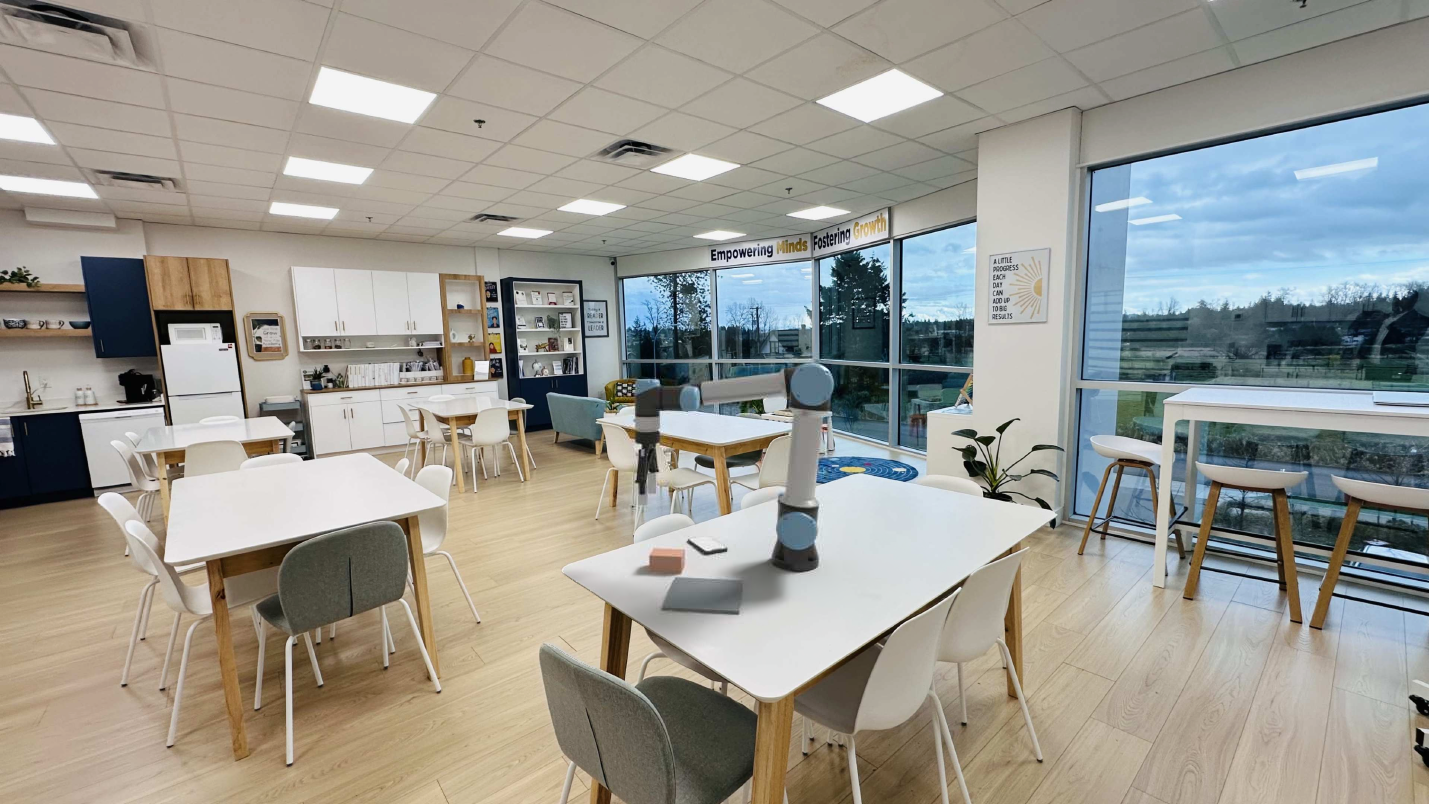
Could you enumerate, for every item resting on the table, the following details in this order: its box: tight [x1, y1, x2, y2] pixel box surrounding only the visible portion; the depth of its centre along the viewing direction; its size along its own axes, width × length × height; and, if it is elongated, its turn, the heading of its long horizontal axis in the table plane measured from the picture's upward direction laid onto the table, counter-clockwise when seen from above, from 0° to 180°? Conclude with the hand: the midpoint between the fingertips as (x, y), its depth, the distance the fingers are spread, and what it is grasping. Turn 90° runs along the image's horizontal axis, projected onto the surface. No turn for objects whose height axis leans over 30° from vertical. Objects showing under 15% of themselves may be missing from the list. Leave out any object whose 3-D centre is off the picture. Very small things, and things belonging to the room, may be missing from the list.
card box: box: [648, 547, 686, 575], centre depth 174 cm, size 10×6×6 cm, turn 84°
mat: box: [662, 576, 744, 615], centre depth 155 cm, size 20×20×1 cm
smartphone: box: [687, 535, 728, 556], centre depth 195 cm, size 9×2×16 cm
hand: (647, 498), depth 170 cm, fingers open, 13 cm apart
